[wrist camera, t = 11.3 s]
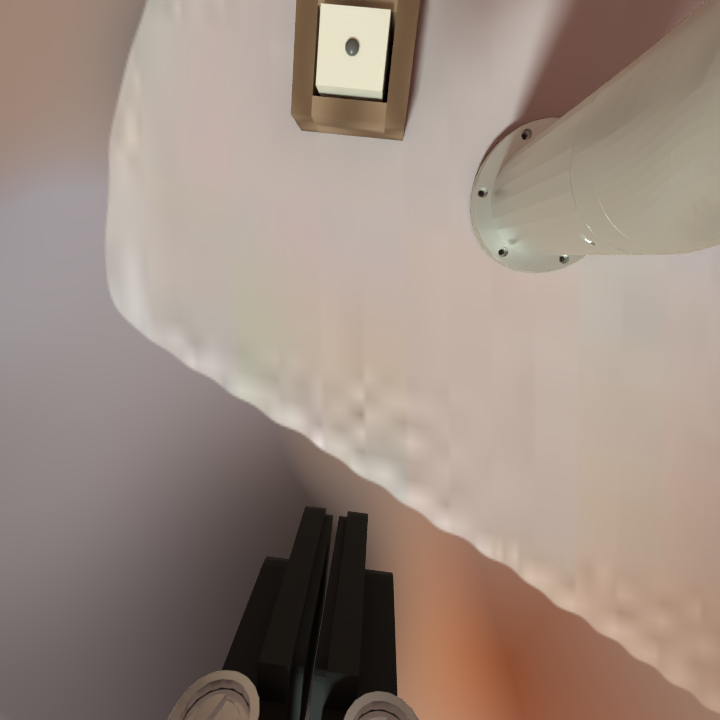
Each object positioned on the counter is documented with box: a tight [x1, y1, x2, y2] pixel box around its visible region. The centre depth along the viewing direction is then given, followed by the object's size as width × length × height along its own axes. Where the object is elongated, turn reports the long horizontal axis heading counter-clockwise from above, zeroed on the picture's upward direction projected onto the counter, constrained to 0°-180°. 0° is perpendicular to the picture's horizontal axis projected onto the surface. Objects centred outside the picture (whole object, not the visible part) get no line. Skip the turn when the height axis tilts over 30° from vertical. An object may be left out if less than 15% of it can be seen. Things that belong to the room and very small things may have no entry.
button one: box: [316, 3, 391, 103], centre depth 30 cm, size 5×5×5 cm
